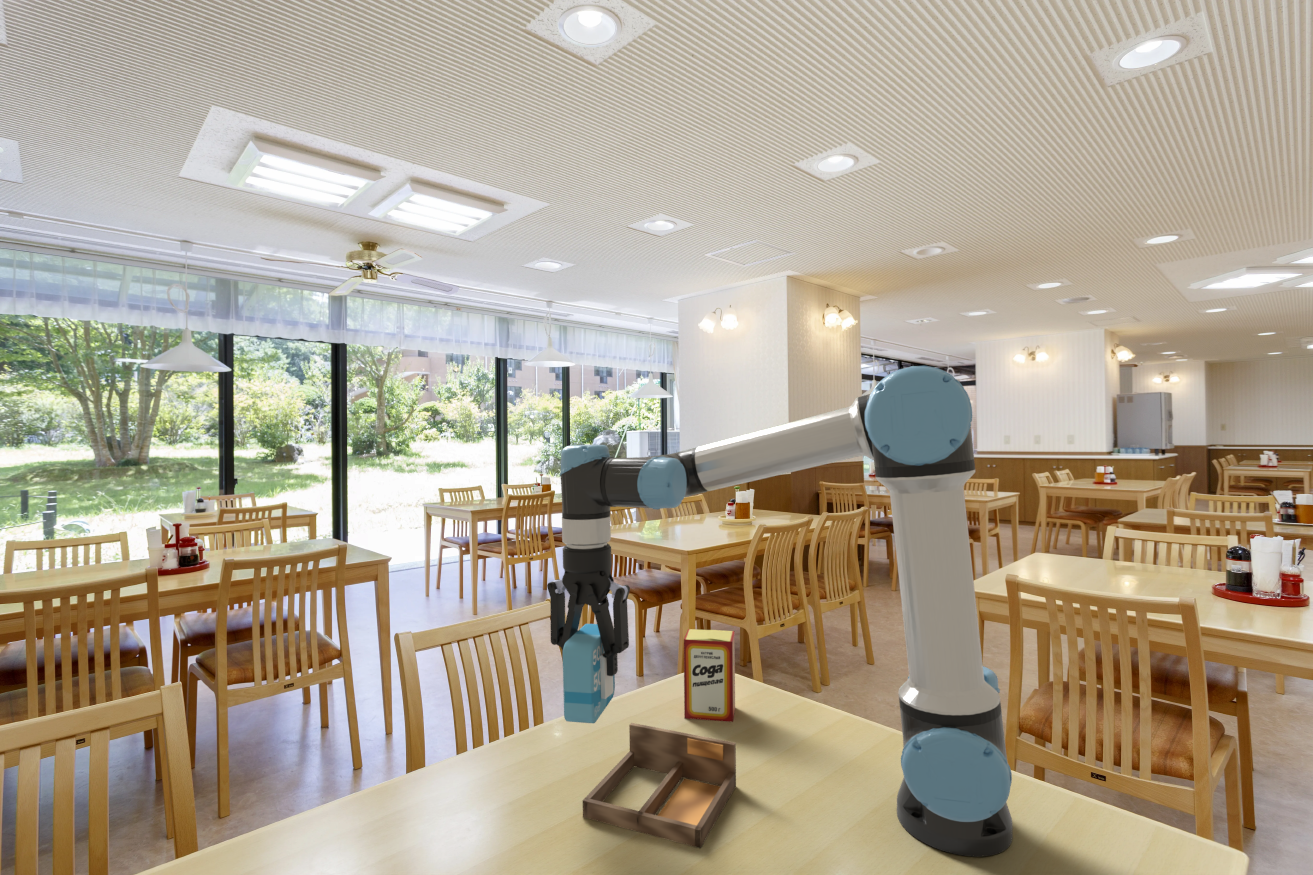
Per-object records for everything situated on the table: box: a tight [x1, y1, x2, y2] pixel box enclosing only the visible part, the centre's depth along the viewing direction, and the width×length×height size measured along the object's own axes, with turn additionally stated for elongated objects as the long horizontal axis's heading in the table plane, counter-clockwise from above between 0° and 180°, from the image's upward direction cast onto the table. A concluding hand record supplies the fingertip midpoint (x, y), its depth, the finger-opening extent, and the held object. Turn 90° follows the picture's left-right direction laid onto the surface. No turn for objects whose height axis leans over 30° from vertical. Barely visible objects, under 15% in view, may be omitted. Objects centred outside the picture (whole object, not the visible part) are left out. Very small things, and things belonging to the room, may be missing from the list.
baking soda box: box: [683, 628, 736, 723], centre depth 131 cm, size 10×6×16 cm
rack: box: [582, 722, 737, 849], centre depth 101 cm, size 18×17×7 cm
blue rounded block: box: [562, 623, 616, 724], centre depth 103 cm, size 12×4×12 cm, turn 168°
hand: (590, 692), depth 103 cm, fingers closed on blue rounded block, 5 cm apart
